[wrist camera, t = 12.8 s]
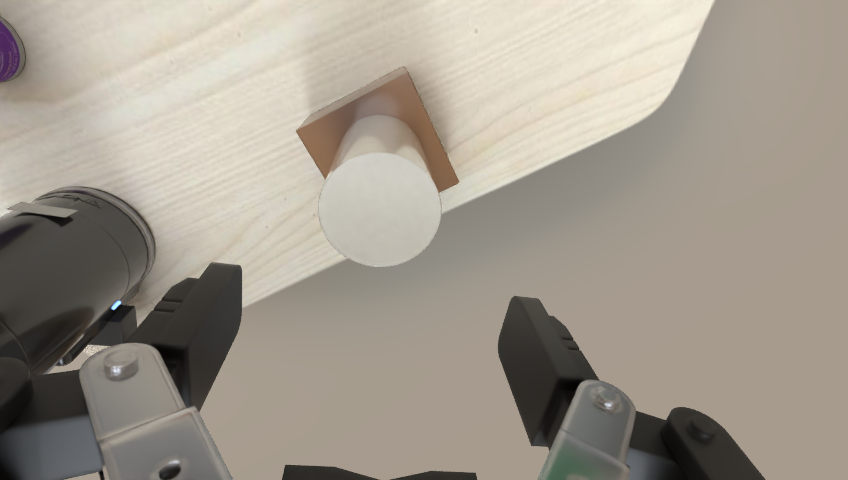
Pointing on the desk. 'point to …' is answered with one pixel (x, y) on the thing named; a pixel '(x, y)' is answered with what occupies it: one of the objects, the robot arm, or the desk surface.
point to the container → (10, 52)
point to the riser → (376, 98)
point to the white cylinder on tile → (379, 194)
